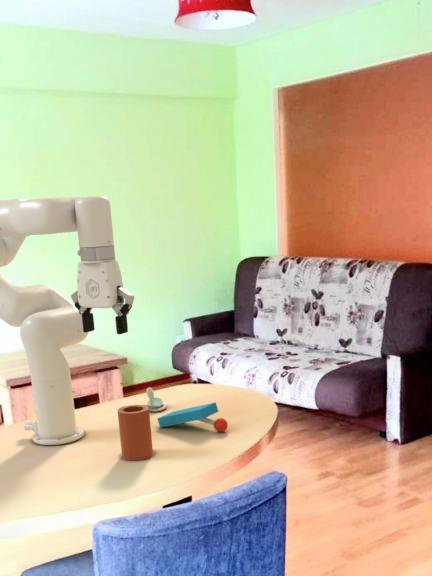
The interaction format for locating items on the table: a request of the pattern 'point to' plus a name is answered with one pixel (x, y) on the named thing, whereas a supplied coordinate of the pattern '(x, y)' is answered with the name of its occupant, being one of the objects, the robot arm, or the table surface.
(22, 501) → the table surface
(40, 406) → the robot arm
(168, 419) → the lever
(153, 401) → the pacifier
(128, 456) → the jar
